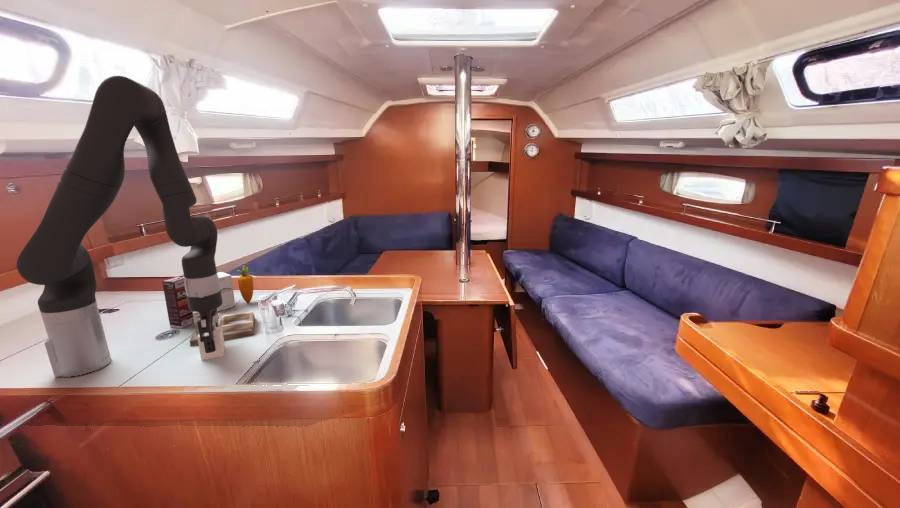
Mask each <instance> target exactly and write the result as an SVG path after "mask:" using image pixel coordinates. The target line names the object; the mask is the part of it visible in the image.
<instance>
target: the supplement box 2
mask: <svg viewBox="0 0 900 508" xmlns="http://www.w3.org/2000/svg"><path fill="white" fill-rule="evenodd" d="M217 275H218V278H219V282H220V288H221V295H222V301H223V303H222V305H221V306H220V307H218V308H217V312H220V311H221V312H222V311H224V310H226V309H231V308H234V307H233V306H235V307H236V302H235V294H234V286H233V285H234V284H233V278H232V277H233V276H232V275H231V274H229V273H226V272H224V271H219V272H217ZM230 307H231V308H230Z"/></svg>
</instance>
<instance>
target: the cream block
mask: <svg viewBox="0 0 900 508" xmlns="http://www.w3.org/2000/svg"><path fill="white" fill-rule="evenodd" d="M205 336H209V333H205ZM197 338H198V344H199V345H198V349H199V354H200V360H201V361H205V360H209V359H210V358H211V359H215V358H214V357H216V358H220V356H221V357H224V355H225V354H224V353H225V351H224V350H226V344H225V340H224V336H223V330H222V326H218V327H216V330H215V331H214V342H215V348H216V350H215V351H214V352H211V353H206V352H205V347H204V342H201V341H200V335H199V334H198V337H197ZM223 354H224V355H223ZM204 359H205V360H204Z"/></svg>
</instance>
